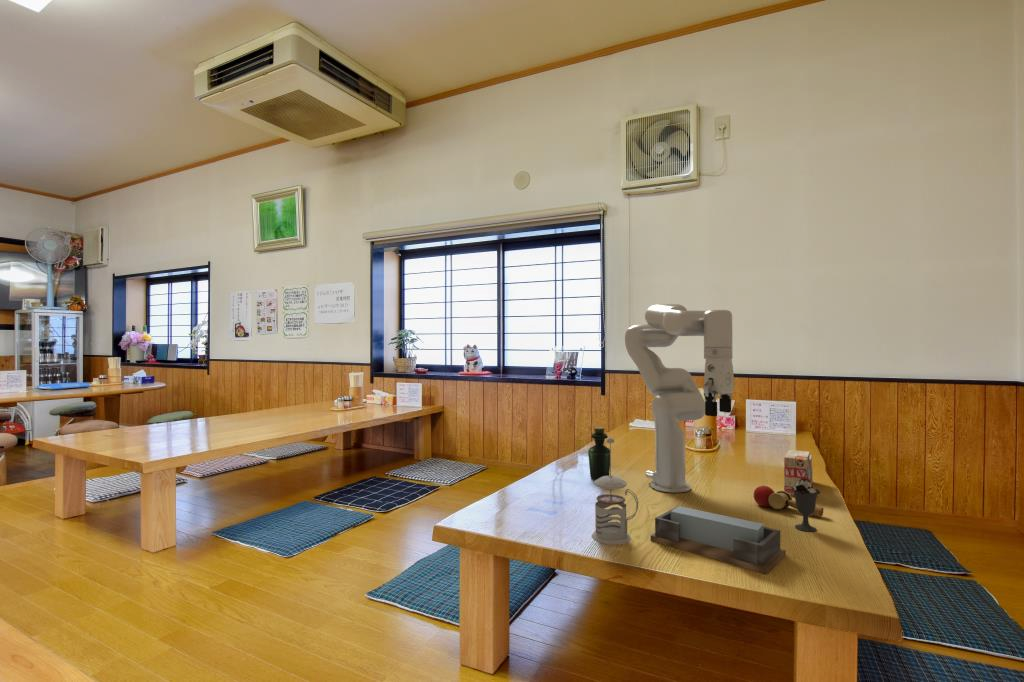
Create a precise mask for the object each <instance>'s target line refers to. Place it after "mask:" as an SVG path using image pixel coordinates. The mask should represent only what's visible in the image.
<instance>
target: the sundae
mask: <svg viewBox="0 0 1024 682" xmlns="http://www.w3.org/2000/svg"><path fill="white" fill-rule="evenodd" d="M806 471H807V470H805V475H806V474H807V472H806ZM805 475H804V476H803V477H801V479H800V480H799V481H798V482H797V485H796V486H794V487H793V488H791V489H792V490H793V491H794V495H795V496H794V499H795V500H794V501H796V507H797V509H796V510H797V511H798V512H799V513H800V514H801V515H802V523H799V524H795V525H794V527H795V529H797V530H798V531H801V532H807V533H814V532H816V531H817V530H818V529H817V527H815V526H814V525H813V526H811V525H810V523H809V516H811V514H812V513H813V512H814V510H815V506H817V505H816V503H817V499H818V495H820V494H821V490H820V489H819V488H817V487H816V488H815V486H814V485H813V483H812V484H811V482H810V480H809V479H808V475H807V478H806V477H805Z"/></svg>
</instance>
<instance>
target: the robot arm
mask: <svg viewBox="0 0 1024 682" xmlns="http://www.w3.org/2000/svg"><path fill="white" fill-rule="evenodd" d="M644 319H645V321H646V323H644V324H643V323H642V324H640V323H639V324H636V325H635V324H634V325H632V326H630V327H628V328H627V329H626V331H625V334H624V343H625V348H626V351H627V354H628V356H629V357H630V358H631V360H632V361H633V363H634V364H635V366H636V367H637V369H638V371H639V373H640V376H641V378H642V380H643V383H644V386H645V387H646V389H647V391H648V392H649V393H650V394H651V395H653V396H654V397H653V399H652V402H651V410H652V415H653V421H654V422H653V423H654V446H655V447H654V451H655V452H654V453H655V458H654V460H655V465H654V466H655V469H654V470H655V471H651V470H646V471H645V478H647V479H652V481H651V482H650V486H651V488H652V489H653V488H654V490H655V491H659V492H665V493H670V494H671V493H674V494H675V493H677V494H679V493H685V492H689V491H690V490H691V484H690V483H688V482H686V435H685V431H684V430H683V428H682V427H681V425H680V423H679V422H683V421H684V422H686V421H699V420H701V419H702V418H703V417H704V416H708V417H717V416H718V409H719V412H720V413H732V397H733V396H732V393H733V392H735V391H734V390H735V382H734V381H735V380H734V378H735V376H734V365H733V357H734V356H733V313H732V312H731V311H730V310H729V309H711V310H688V309H687V307H685V306H684V305H682V304H679V303H678V304H676V303H675V304H673V303H671V304H670V303H669V304H668V303H666V304H665V303H659V304H658V303H657V304H653V305H651V306H649V307H648V308H647V309H646V310H645V313H644ZM679 336H680V337H697V336H698V337H703V359H704V360H705V363H704V376H703V377H704V379H703V381H704V383H703V387H702V388H703V395H702V393H701V391H700V389H699V387H698V386H697V384H696V382H695V380H694V378H693V376H692V374H691V373H690V372H689V371H688V370H687V369H685V368H681V367H673V368H672V367H666V366H665V364H663V362H662V359H661V358H660V356H658V354H656V353H655V352H654V351H653V350H651V349H650V348H667V347H671V346H672V345H673V344H674V343H675V342H676V340H677V339H678V337H679ZM718 395H719V402H718V401H717V398H718ZM718 403H719V405H718ZM718 406H719V408H718Z"/></svg>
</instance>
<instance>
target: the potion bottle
mask: <svg viewBox="0 0 1024 682" xmlns="http://www.w3.org/2000/svg"><path fill="white" fill-rule="evenodd" d="M593 430H594V433H592V434H591V436H590V437H591V438H592V439H593V440H594V443H595V444H594V445H593V446H591V447H589V449H588V451H587V455H588V465H589V475H590V476H589V477H590V478H591V479H592V480H594V481H595V480H597V479H599V478H601V477H603V476H609V475H610V447H607V446H606V445H604V444H605V440H607V439H608V438H609V437H608V434H607V433H604V432H605V427H603V426H594V428H593Z"/></svg>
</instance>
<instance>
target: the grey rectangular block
mask: <svg viewBox="0 0 1024 682" xmlns="http://www.w3.org/2000/svg"><path fill="white" fill-rule="evenodd" d="M676 507H677V506H676ZM674 508H675V507H674ZM674 508H673V509H674ZM671 510H672V509H671ZM671 521H675V522H678V523H680V538H683V539H687V540H691V541H695V542H699V543H703V544H707V545H711V546H715V547H719V548H723V549H727V550H731V551H734V548H733V538H735V537H736V538H740V539H744V540H748V541H752V542H756V543H760V542H761V541H762V540H763V539H764V527H765V525H764V523H761V522H758V521H757V522H756V521H751V520H747V519H742V518H737V517H732V516H727V515H722V514H717V513H714V512H709V511H706V510H705V511H703V510H699V509H694V508H690V507H689V508H688V507H684V506H681V505H680V506H679V505H678V507H677V508H675V509H674V510H672V511H671Z"/></svg>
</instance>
